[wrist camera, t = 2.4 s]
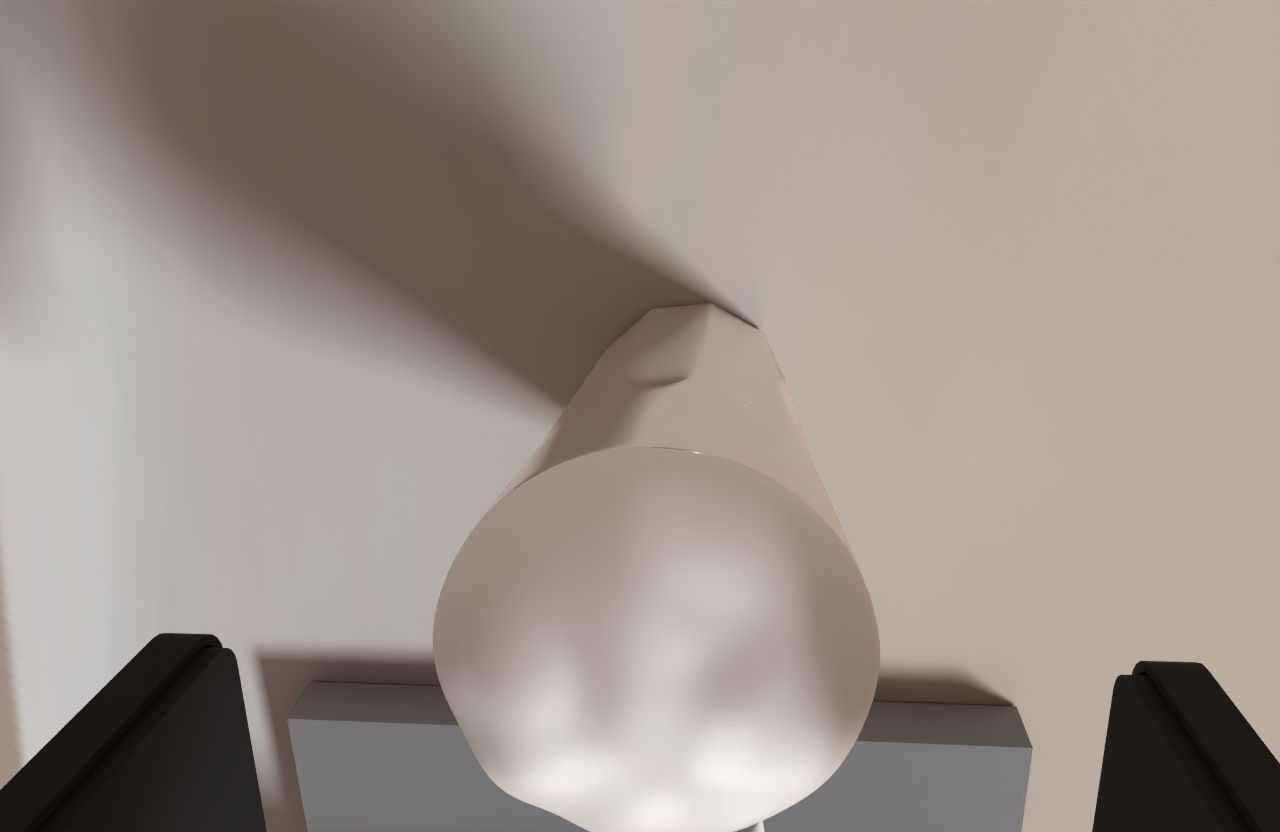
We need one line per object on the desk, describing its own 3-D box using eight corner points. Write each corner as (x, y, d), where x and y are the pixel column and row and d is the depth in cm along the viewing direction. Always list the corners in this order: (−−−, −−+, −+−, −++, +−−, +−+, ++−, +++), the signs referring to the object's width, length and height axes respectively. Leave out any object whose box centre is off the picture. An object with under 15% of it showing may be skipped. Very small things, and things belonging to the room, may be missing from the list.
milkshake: (648, 576, 20) (561, 1089, 10) (518, 326, 18) (277, 663, 9) (878, 492, 18) (1014, 979, 9) (761, 219, 17) (782, 471, 8)
